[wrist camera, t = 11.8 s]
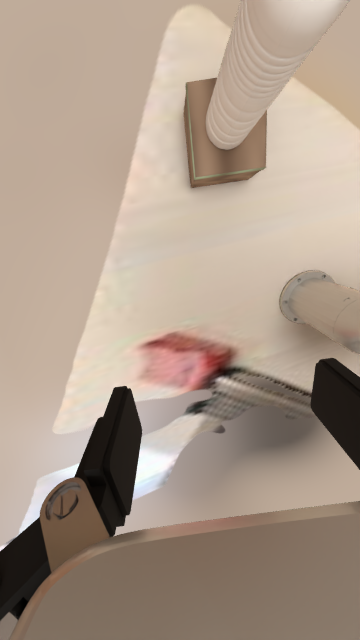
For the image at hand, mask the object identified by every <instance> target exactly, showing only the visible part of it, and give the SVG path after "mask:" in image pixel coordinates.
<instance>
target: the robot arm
mask: <svg viewBox="0 0 360 640" xmlns="http://www.w3.org/2000/svg"><path fill="white" fill-rule="evenodd" d="M280 308H281V311H282V313H283V314H284V316H285V317H286V318H288V319H289V320H290V321H292V322H294V323H299V324H306V323H307V324H309V325H310V326H312V327H313V328H315V329H317V330H318V331H320V332H321V333H323V334H324V335H326V336H327V337H329V338H330V339H332V340H333V341H335V342H336V343H338V344H340V345H341V346H343V347H344V348H346V349H348V350H350V351H352V352H355V353H358V354H360V291H358V290H354V289H353V288H348V287H344V286H341V285H338V284H335V283H334V280H333V279H332V278H331V277H330V276H329V275H328V274H326V273H323V272H320V271H306V272H303V273H301V274H299V275H297V276H295V277H294V278H293V279H291V280H290V281H289V282H288V284H287V285H286V286H285V288H284V290H283V292H282V294H281V298H280ZM311 409H312V411H313V412H314V413H315V415H316V416H317V417H318V418H319V420H320V421H321V422H322V423H323V425H324V426H325V427H326V428H327V430H328V431H329V432H330V433H331V435H332V436H333V437H334V438H335V440H336V441H337V442H338V443H339V445H340V446H341V447H342V448H343V450H344V451H345V452H346V453H347V455H348V456H349V457H350V458H351V459H352V461H353V462H354V463H355V464H356V466H357V467H358V468H359V470H360V377H359V376H357V375H356V374H355V373H353V372H352V371H351V370H349V369H348V368H347V367H345V366H344V365H343V364H341V363H340V362H339V361H337V360H336V359H334V358H328V359H321V360H319V362H318V363H317V364H316V367H315V375H314V382H313V389H312V397H311ZM141 437H142V427H141V423H140V419H139V416H138V412H137V409H136V405H135V402H134V398H133V394H132V391H131V389H130V388H129V389H128V388H127V386H122V387H115V388H114V389H113V392H112V395H111V397H110V400H109V403H108V405H107V408H106V411H105V414H104V416H103V417H100V418H98V420H97V422H96V424H95V427H94V429H93V432H92V434H91V437H90V439H89V442H88V444H87V447H86V449H85V452H84V454H83V457H82V459H81V462H80V464H79V467H78V469H77V472H76V474H75V477H74V478H70V479H67V480H64V481H63V482H61V483H60V484H58V485H57V486H56V487H55V488H54V489H53V490H52V491H51V492H50V493H49V494H48V496H47V497H46V499H45V500H44V502H43V504H42V507H41V510H40V517H39V518H38V519H37V520H36V521H34V522H33V523H32V524H31V525H30V526H29V527H28V528H27V529H25V530H24V531H23V532H22V533H21V534H20V535H19V536H17V537H16V538H15V539H14V540H13V541H12V542H11V543H9V544H8V545H7V546H6V547H5V548H4V549H3V550H1V551H0V640H360V501H356V502H348V503H339V504H331V505H323V506H316V507H307V508H299V509H292V510H283V511H275V512H267V513H259V514H251V515H244V516H236V517H229V518H221V519H213V520H206V521H198V522H191V523H184V524H176V525H171V526H163V527H158V528H151V529H144V530H138V531H134V532H130V533H125V534H120V535H117V536H114V535H115V530H116V527H119V526H124V523H125V517H126V515H129V514H130V511H131V505H132V498H133V491H134V485H135V478H136V471H137V464H138V457H139V450H140V443H141ZM113 536H114V537H113Z"/></svg>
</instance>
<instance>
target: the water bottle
mask: <svg viewBox="0 0 360 640" xmlns="http://www.w3.org/2000/svg"><path fill="white" fill-rule="evenodd" d="M349 1H350V0H240V4H239V7H238V11H237V14H236V17H235V21H234V25H233V27H232V31H231V34H230V37H229V40H228V43H227V46H226V50H225V53H224V57H223V60H222V63H221V67H220V71H219V74H218V77H217V80H216V84H215V87H214V91H213V94H212V97H211V101H210V104H209V107H208V110H207V114H206V131H207V135H208V137H209V139H210V141H211V142H212V143H213V144H214V145H215V146H216V147H218V148H220V149H225V150H229V149H233V148H235V147H237V146H238V145H239V144H241V143H242V142H243V140H244V139H245V138H246V137H247V135H248V134H249V132H250V131H251V130H252V128H253V127H254V126H255V125H256V123H257V122H258V121H259V119H260V118H261V117H262V116H263V114H264V113H265V111H266V110H267V109H268V108H269V106H270V105H271V104H272V102H273V101H274V100H275V98H276V97H277V96H278V95H279V93H280V92H281V91H282V89H283V88H284V86H285V85H286V84H287V82H288V81H289V80H290V78H291V77H292V76H293V75H294V73H295V72H296V70H297V69H298V68H299V67H300V65H301V64H302V63H303V61H304V60H305V59H306V57H307V56H308V55H309V54H310V52H311V51H312V50H313V48H314V47H315V46H316V44H317V43H318V42H319V40H320V39H321V38H322V36H323V35H324V34H325V33H326V32H327V30H328V29H329V28H330V27H331V26H332V24H333V23H334V22H335V21H336V19H337V18H338V17H339V15H340V14H341V13H342V11H343V10H344V8H345V7H346V6H347V4H348V3H349Z"/></svg>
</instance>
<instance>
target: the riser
mask: <svg viewBox="0 0 360 640" xmlns="http://www.w3.org/2000/svg"><path fill="white" fill-rule="evenodd" d="M216 80H217V78H213V79H206V80H200V81H193V82H187V83H186V97H185V106H184V122H185V132H186V143H187V153H188V163H189V173H190V183H191V188H194V187H200V186H207V185H214V184H221V183H227V182H234V181H241V180H248V179H249V178H251V177H252V176H254V175H255V174H256V173H258V172H259V171H261V170H263V169H265V168H266V125H267V110H266V111H265V113H264V114H263V116H262V117H261V118H260V119H259V121H258V122H257V123H256V125H255V126H254V127H253V128H252V130H251V131H250V132H249V134H248V135H247V137H246V138H245V139H244V140H243V142H242V143H241V144H239V145H238V146H237V147H235V148H233V149H229V150H225V149H220V148H218V147H216V146H215V145H214V144H213V143H212V142H211V141H210V139H209V137H208V135H207V131H206V114H207V110H208V107H209V104H210V101H211V97H212V94H213V91H214V87H215V84H216Z"/></svg>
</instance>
